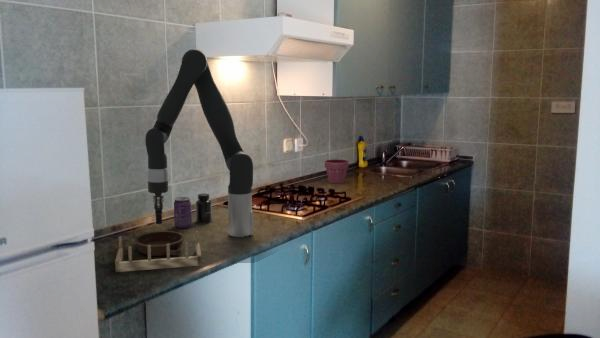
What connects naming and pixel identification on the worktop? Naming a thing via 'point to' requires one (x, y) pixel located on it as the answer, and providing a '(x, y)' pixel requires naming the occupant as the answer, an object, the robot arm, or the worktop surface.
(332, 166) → the plant pot
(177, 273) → the worktop surface
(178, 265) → the rack
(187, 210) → the beverage can
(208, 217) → the supplement bottle
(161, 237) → the dish
